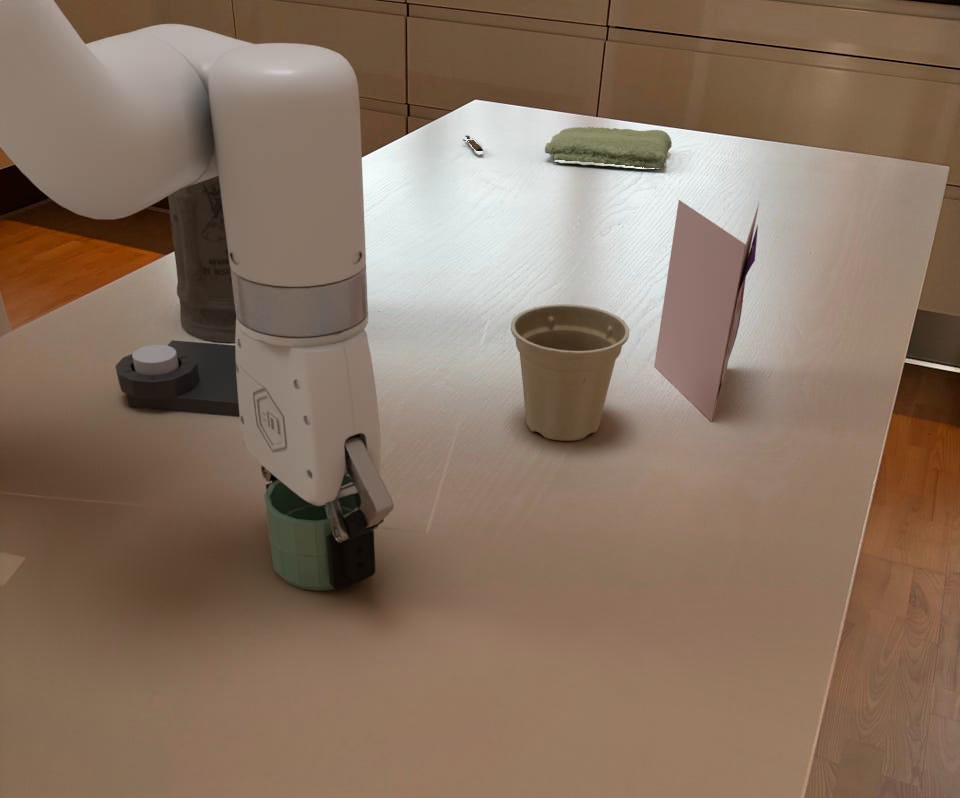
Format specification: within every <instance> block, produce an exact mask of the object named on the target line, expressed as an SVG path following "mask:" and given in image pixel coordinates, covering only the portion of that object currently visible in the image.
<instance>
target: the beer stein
mask: <svg viewBox="0 0 960 798" xmlns="http://www.w3.org/2000/svg"><path fill="white" fill-rule="evenodd" d="M167 200H168V208H169V218H170V229H171V237H172V244H173V245H172V246H173V253H174V259H175V267H176V278H177V279H176V280H177V285H176V295H177V297H178V300H179V306H180V307H179V310H180V311H179V312H180V313H179V315H180V316H179V317H180V324H181V327H182V328H183V329H184V331H186V332H187V333H189V334H190V335H192V336H194V337H195V336H196V338H198V339H201V340H205V341H211V342H216V343H235V334H236V310H235V302H234V294H233V286H232V278H231V270H230V263H229V255H228V247H227V239H226V231H225V223H224V215H223V207H222V199H221V191H220V183H219V176H216V177H213V178H211V179H208V180H205V181H202V182H199V183H197V184H194V185H191V186H188V187H185V188H181V189H179V190H178V191H176V192H174V193H172V194H171V195H169V196H167Z"/></svg>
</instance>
